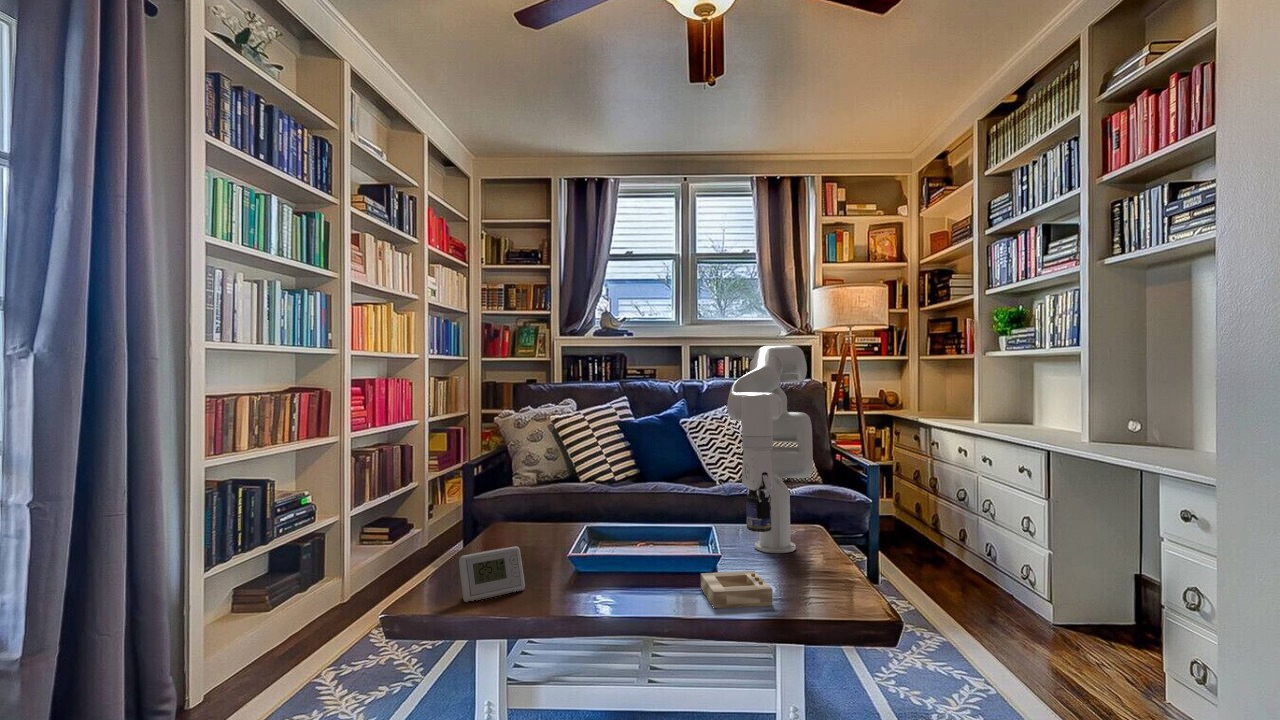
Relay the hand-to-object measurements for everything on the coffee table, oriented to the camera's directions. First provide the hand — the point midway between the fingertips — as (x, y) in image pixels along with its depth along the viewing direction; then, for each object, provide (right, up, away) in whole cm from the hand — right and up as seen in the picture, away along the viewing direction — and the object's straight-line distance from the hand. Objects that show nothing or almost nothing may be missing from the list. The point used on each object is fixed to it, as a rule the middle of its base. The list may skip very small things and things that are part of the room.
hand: (758, 515), depth 155 cm
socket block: (-6, -19, -3) cm, 20 cm away
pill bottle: (0, -4, 0) cm, 4 cm away
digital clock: (-66, -20, 0) cm, 69 cm away
